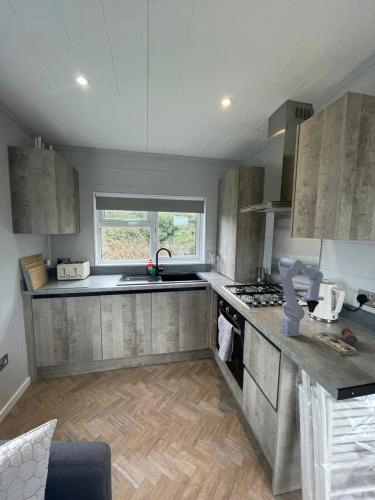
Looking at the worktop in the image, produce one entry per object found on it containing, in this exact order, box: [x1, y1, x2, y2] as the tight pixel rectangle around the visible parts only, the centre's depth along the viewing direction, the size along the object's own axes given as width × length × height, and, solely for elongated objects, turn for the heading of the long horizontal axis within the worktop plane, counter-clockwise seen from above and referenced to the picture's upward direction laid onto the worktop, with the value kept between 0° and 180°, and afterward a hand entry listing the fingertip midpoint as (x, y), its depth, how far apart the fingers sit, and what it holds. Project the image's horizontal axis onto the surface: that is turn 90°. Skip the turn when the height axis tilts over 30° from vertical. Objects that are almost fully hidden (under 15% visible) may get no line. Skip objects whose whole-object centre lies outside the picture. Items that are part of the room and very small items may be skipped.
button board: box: [311, 331, 357, 357], centre depth 114 cm, size 10×17×2 cm, turn 14°
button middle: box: [331, 336, 339, 343], centre depth 114 cm, size 3×3×2 cm
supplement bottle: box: [340, 327, 359, 347], centre depth 116 cm, size 6×6×11 cm
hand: (311, 312), depth 132 cm, fingers closed
